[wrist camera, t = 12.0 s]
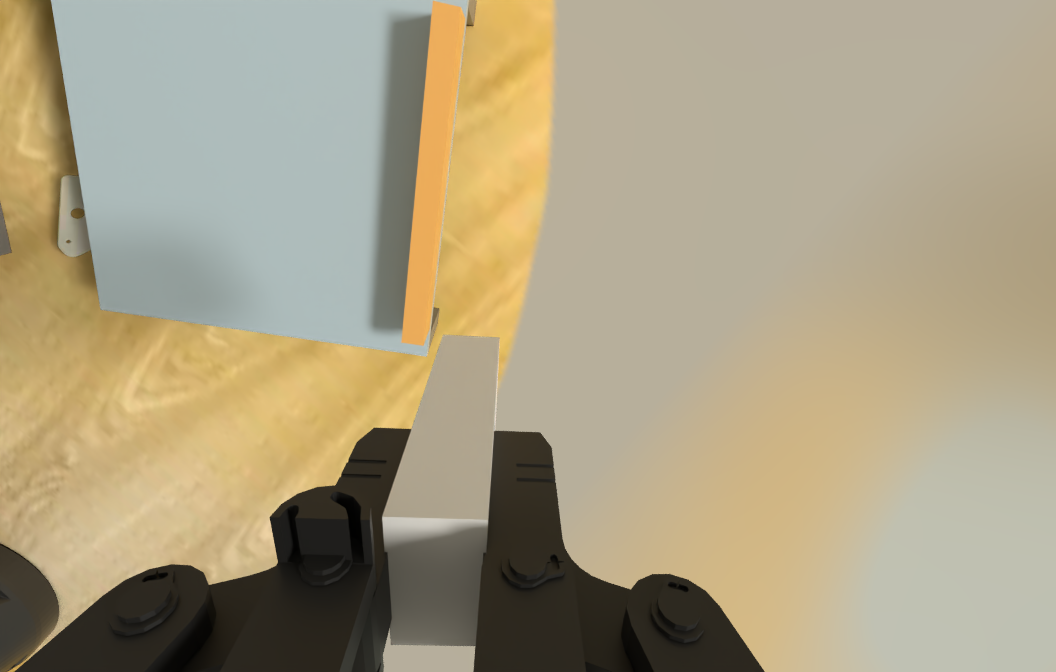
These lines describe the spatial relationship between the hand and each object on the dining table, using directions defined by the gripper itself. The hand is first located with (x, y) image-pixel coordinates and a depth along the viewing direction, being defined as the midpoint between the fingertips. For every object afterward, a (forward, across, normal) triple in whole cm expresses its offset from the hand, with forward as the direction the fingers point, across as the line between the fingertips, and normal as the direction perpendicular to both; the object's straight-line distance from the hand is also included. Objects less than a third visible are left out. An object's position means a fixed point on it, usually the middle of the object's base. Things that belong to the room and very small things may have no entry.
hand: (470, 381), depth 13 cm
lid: (+16, -12, +4) cm, 20 cm away
